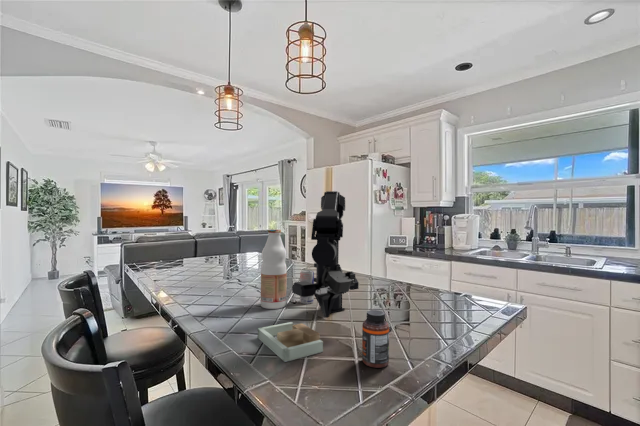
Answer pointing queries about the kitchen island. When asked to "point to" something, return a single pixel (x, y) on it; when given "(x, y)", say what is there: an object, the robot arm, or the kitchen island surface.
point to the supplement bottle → (375, 340)
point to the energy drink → (309, 277)
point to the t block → (298, 335)
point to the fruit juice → (273, 272)
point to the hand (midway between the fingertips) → (326, 317)
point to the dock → (281, 350)
